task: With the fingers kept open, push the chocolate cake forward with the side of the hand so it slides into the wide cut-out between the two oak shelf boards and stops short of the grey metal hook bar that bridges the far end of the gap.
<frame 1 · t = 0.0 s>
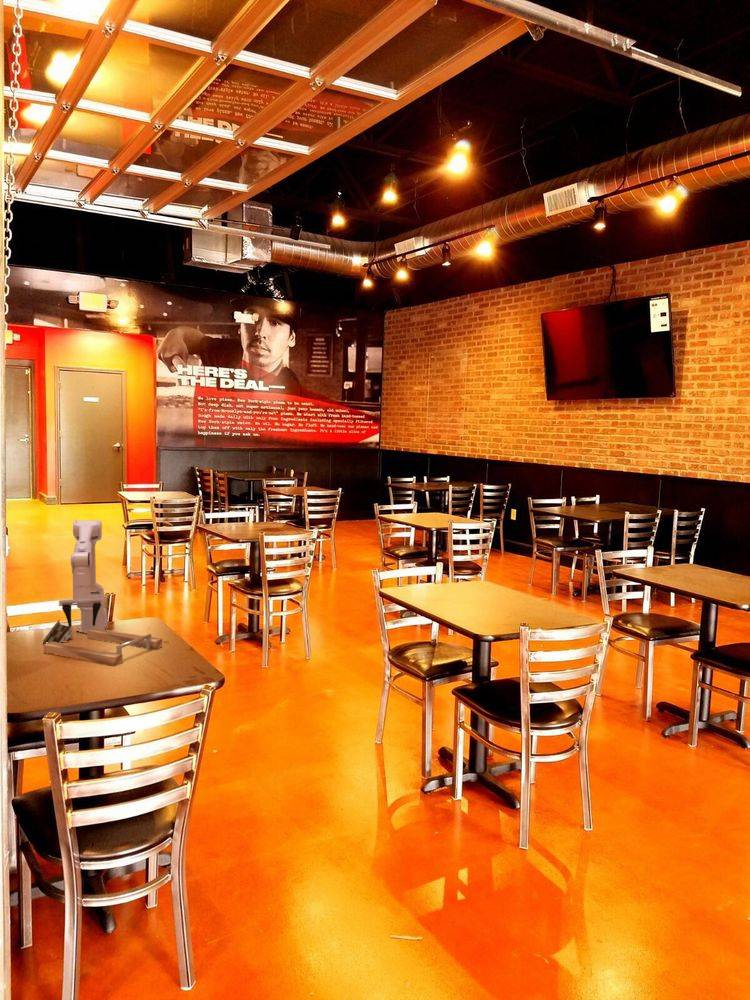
hand: (82, 626, 256), 11 cm above the table, tool pointing down, fingers open, 7 cm apart
chocolate cake: (59, 642, 274), on the table
shelf board 1: (82, 657, 255), on the table
shelf board 2: (124, 642, 273), on the table
hook bar: (134, 655, 259), on the table
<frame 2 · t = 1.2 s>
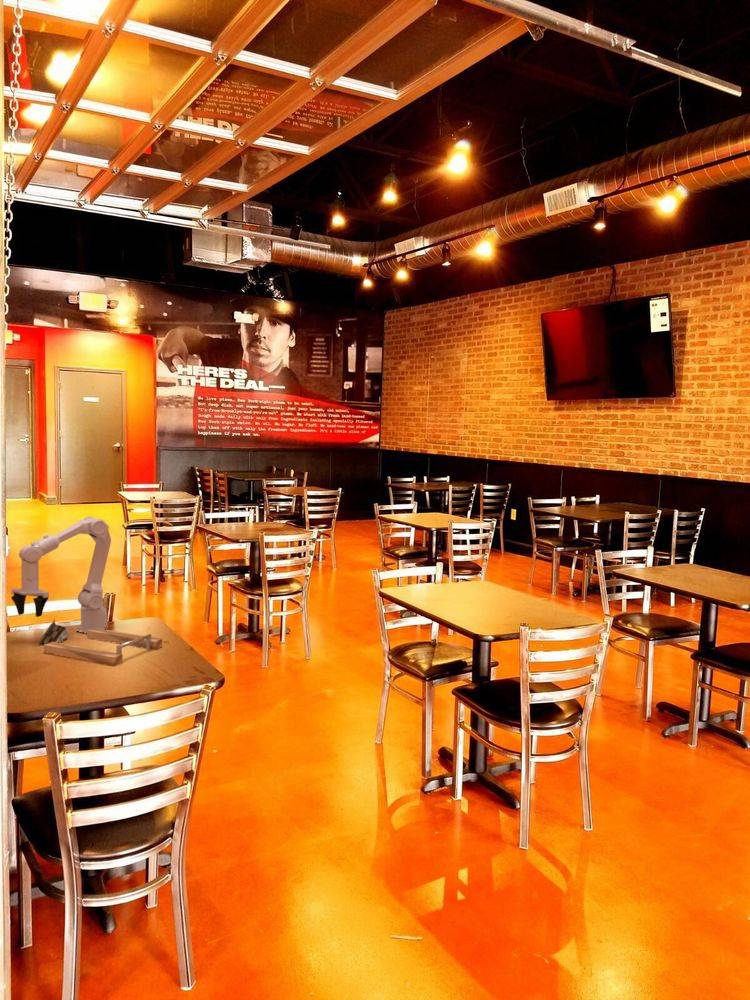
hand: (29, 615, 271), 10 cm above the table, tool pointing down, fingers open, 7 cm apart
chocolate cake: (55, 642, 274), on the table
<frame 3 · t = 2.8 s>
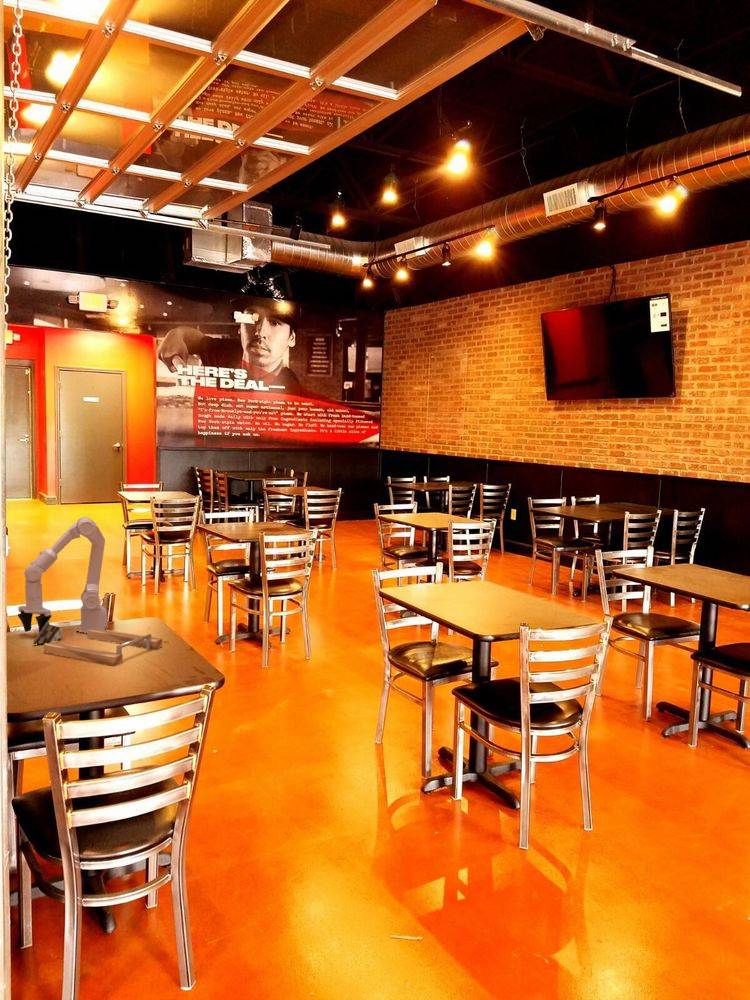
hand: (35, 632, 279), 2 cm above the table, tool pointing down, fingers open, 7 cm apart
chocolate cake: (49, 642, 273), on the table
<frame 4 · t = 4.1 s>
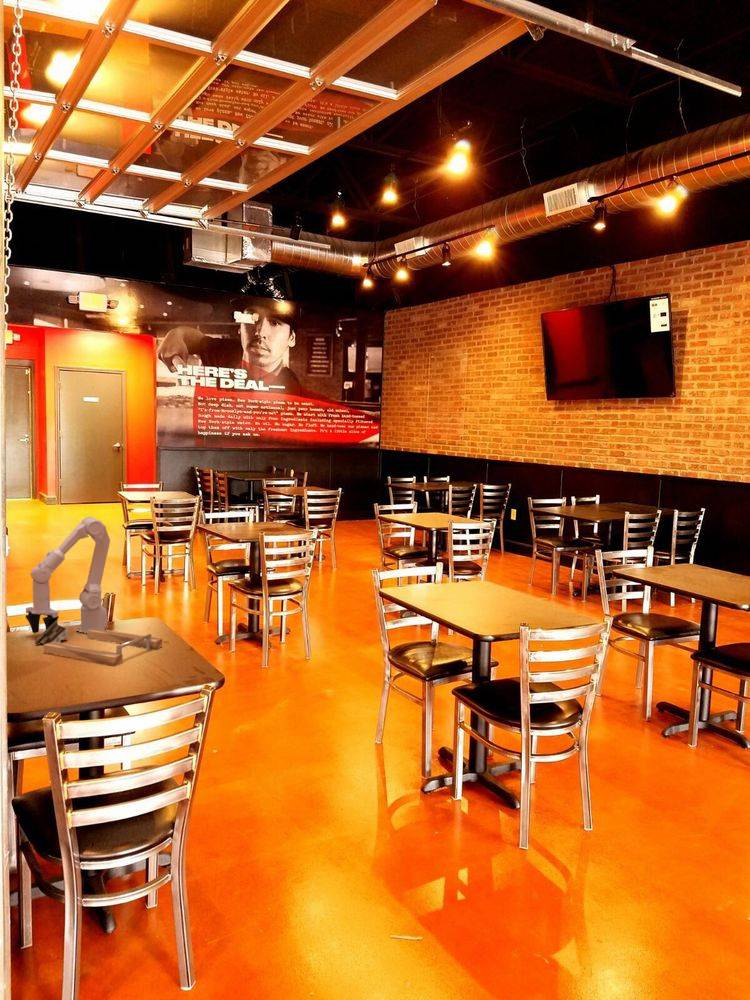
hand: (42, 633, 278), 2 cm above the table, tool pointing down, fingers open, 7 cm apart
chocolate cake: (54, 643, 273), on the table, touching gripper
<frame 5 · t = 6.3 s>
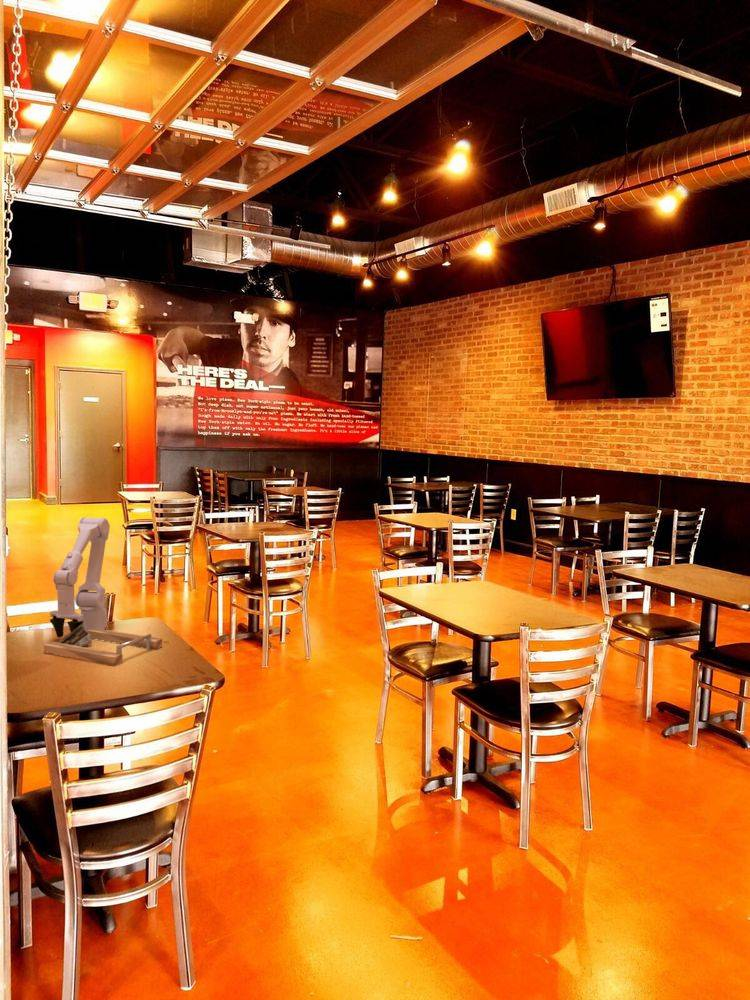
hand: (67, 638, 273), 2 cm above the table, tool pointing down, fingers open, 7 cm apart
chocolate cake: (76, 647, 267), on the table, touching gripper
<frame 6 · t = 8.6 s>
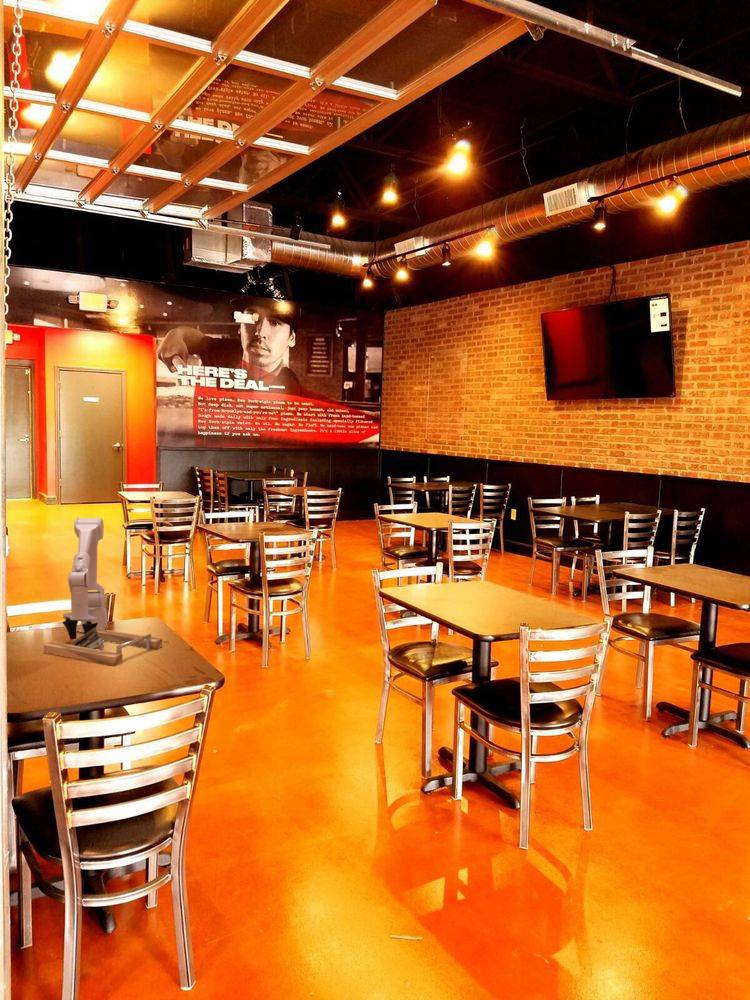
hand: (80, 640, 270), 2 cm above the table, tool pointing down, fingers open, 7 cm apart
chocolate cake: (88, 651, 264), on the table, touching gripper
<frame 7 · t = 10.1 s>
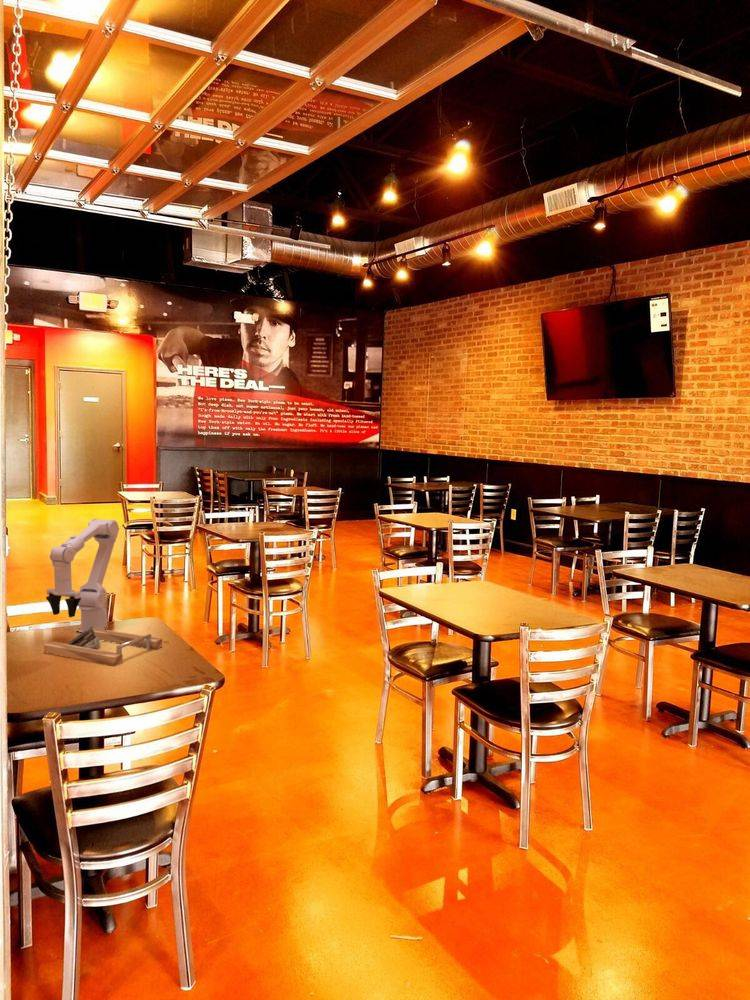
hand: (64, 615, 272), 10 cm above the table, tool pointing down, fingers open, 7 cm apart
chocolate cake: (84, 650, 265), on the table
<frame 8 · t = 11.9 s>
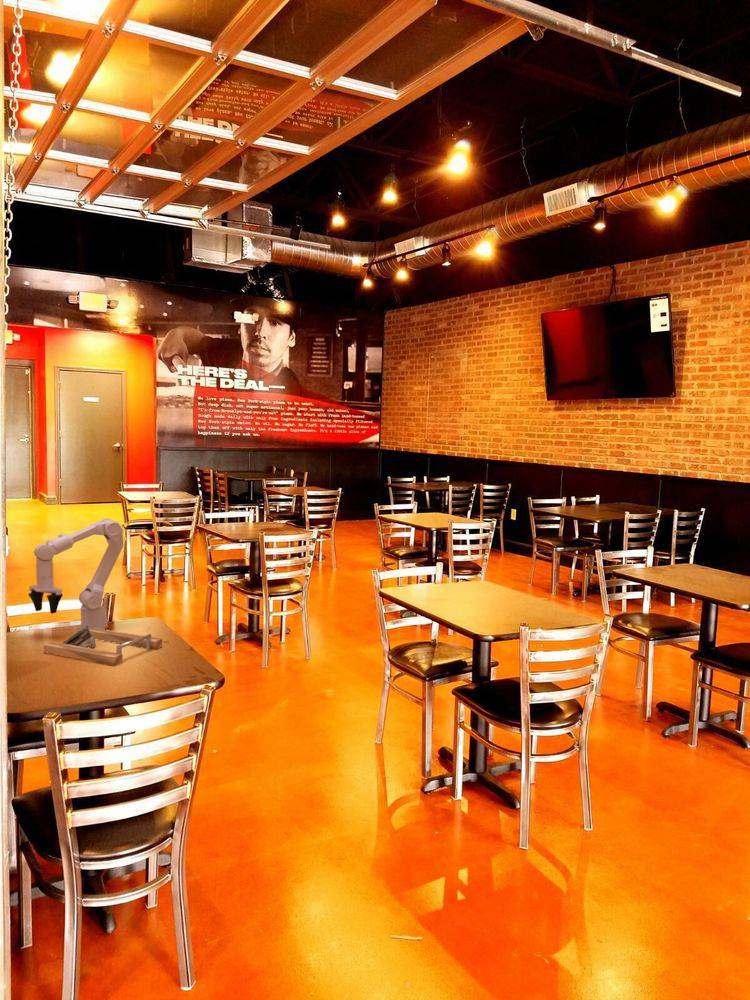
hand: (46, 611, 277), 10 cm above the table, tool pointing down, fingers open, 7 cm apart
chocolate cake: (80, 649, 266), on the table
at the end: chocolate cake inside the target area (7.3 cm from its centre), on the table; chocolate cake moved 13.6 cm from its start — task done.
